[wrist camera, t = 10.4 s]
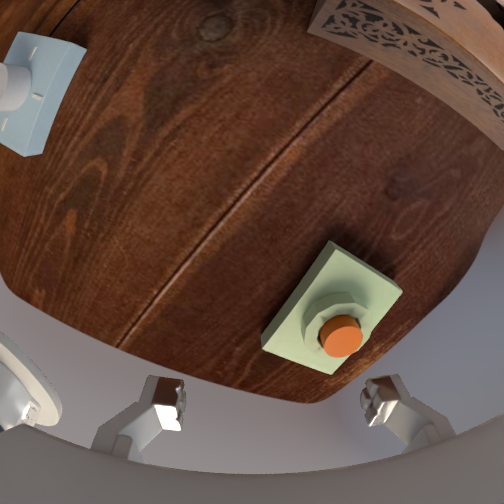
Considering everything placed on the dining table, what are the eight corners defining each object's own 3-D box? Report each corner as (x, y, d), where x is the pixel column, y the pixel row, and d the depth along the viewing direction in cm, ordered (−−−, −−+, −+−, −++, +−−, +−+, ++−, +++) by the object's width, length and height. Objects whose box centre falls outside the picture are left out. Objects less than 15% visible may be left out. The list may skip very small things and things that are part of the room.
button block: (326, 361, 31) (334, 386, 27) (260, 335, 29) (262, 361, 25) (393, 281, 27) (411, 300, 23) (328, 239, 25) (342, 257, 21)
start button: (340, 350, 26) (345, 362, 24) (311, 338, 25) (315, 350, 23) (364, 323, 24) (370, 334, 23) (335, 308, 24) (341, 320, 22)
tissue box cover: (513, 58, 16) (566, 55, 7) (503, 150, 21) (565, 166, 12) (337, -60, 13) (368, -111, 4) (306, 32, 18) (341, -23, 9)
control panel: (42, 153, 21) (23, 157, 18) (-3, 128, 19) (-22, 130, 16) (87, 49, 18) (70, 41, 15) (34, 36, 16) (17, 31, 13)
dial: (38, 71, 15) (12, 66, 12) (20, 116, 17) (-7, 117, 13) (14, 63, 14) (-11, 59, 11) (-2, 105, 16) (-28, 105, 12)
